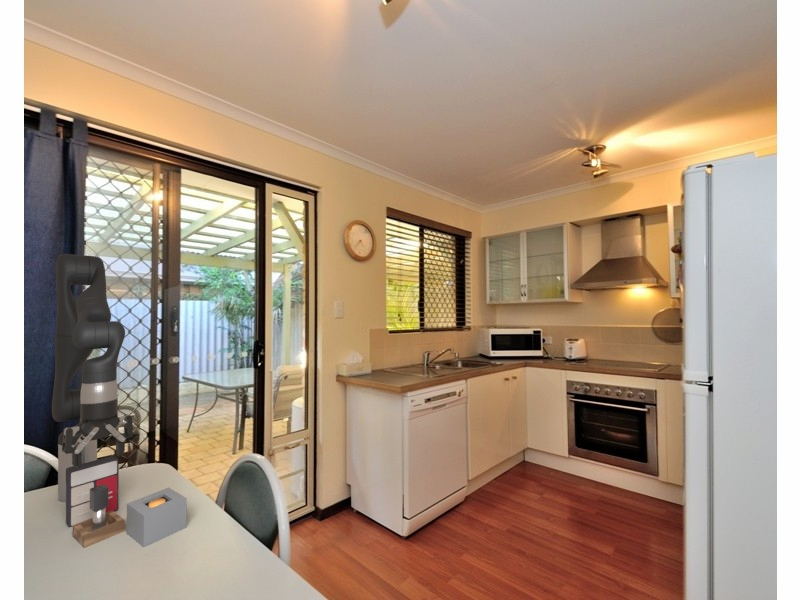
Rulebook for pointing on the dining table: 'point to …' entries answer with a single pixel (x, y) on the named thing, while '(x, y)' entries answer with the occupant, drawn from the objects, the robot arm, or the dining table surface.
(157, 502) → the button
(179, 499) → the guard box
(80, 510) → the calculator
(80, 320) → the robot arm
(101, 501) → the stylus
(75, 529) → the wooden square frame
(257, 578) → the dining table surface
